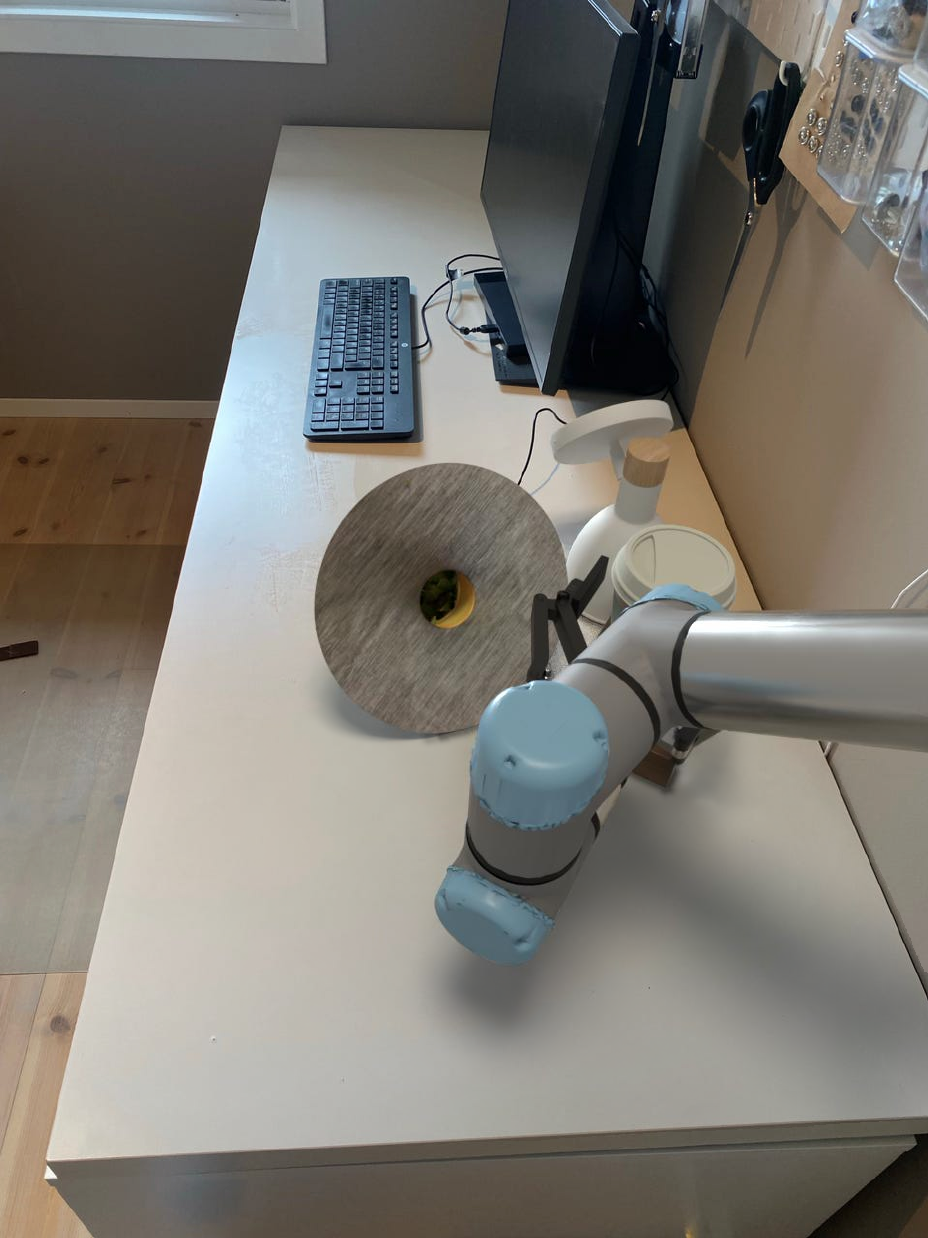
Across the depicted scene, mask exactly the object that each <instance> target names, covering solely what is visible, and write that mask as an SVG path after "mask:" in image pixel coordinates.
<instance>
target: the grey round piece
mask: <svg viewBox="0 0 928 1238" xmlns="http://www.w3.org/2000/svg"><path fill="white" fill-rule="evenodd" d="M566 562H567V560H566V555H565V551H564V548H563V545H562V541H561V539H560V536H559V534H558V531H557V529H556V528H555V525H554V524H553V522H552V520H551V518H550V517H549V516H548V513H546V511H545V509H543V507H542V506H541V505H540V503H538V501H536V499H535V498H534V497H533V496H532V495H531V494H530V493H529V492H528V491H527V490H525V488H523V487H522V486H520V485H519V484H518V483H516V482H515V481H513V480H512V479H510V478H509V477H507V476H505V475H502V474H501V473H498V472H497V471H494V470H492V469H489V468H486V467H482V466H478V465H474V464H468V463H461V462H438V463H431V464H425V465H421V466H416V467H413V468H410V469H408V470H405V471H403V472H400V473H398V474H396V475H393V476H392V477H390V478H388V479H385V481H383V482H381V483H380V484H378V485H377V486H375V487H374V488H373V489H371V490H370V491H369V492H367V493H366V494H365V495H364V496H363V497H362V498H361V499H359V501H358V502H356V504H355V505H353V507H352V508H351V509H350V510H349V511H348V512H347V514H346V515H345V516H344V518H343V519H342V521H341V522H340V523H339V525H338V527H337V528H336V530H335V531H334V533H333V535H332V537H331V538H330V541H329V542H328V544H327V546H326V549H325V552H324V555H323V557H322V560H321V564H320V566H319V569H318V574H317V578H316V582H315V591H314V605H313V606H314V607H313V609H314V612H313V613H314V625H315V633H316V637H317V640H318V645H319V649H320V651H321V654H322V656H323V658H324V661H325V663H326V666H327V667H328V669H329V672H330V673H331V675H332V677H333V678H334V680H335V682H336V683H337V684H338V686H339V687H340V688H341V690H342V691H343V693H345V694H346V695H347V696H348V697H349V699H351V701H352V702H353V703H354V704H355V705H357V706H358V707H359V708H360V709H361V710H363V711H364V712H366V713H367V714H368V715H370V716H372V717H374V718H375V719H377V720H378V721H380V722H383V723H384V724H387V725H389V726H391V727H395V728H398V729H401V730H405V731H408V732H414V733H415V732H416V733H421V734H442V733H450V732H457V731H461V730H467V729H470V728H472V727H476V726H479V723H480V720H481V717H482V715H483V713H484V711H485V709H486V708H487V706H488V705H489V703H490V702H491V701H492V700H493V699H494V698H495V697H496V696H497V695H498V694H500V693H501V692H502V691H504V690H506V689H507V688H510V687H517V686H521V685H525V683H526V677H527V671H528V669H529V667H530V665H531V612H532V605H533V598H534V595H535V594H538V593H542V594H544V595H546V596H547V598H548V599H556V596H557V592H558V591H560V590H565V589H566V587H567V586H568V576H567V569H566ZM548 631H549V661H548V664H549V663H550V661H551V660H552V659H553V656H554V653H555V651H556V648H557V647H558V644H559V643H560V640H559V638H558V635H557V632H556V629H555V627H554V624H553V621H551V620H548Z"/></svg>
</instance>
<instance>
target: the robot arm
mask: <svg viewBox="0 0 928 1238" xmlns="http://www.w3.org/2000/svg"><path fill="white" fill-rule="evenodd" d="M608 561H609V557H606V556H604V555H601V556H600V558H599V559H598V561H597V562H596V564H595V565H594V567H593V568H592V569H591V571H590V572H589V574H588V575H587V577H586V578H585V580H584V581H582V580H579V579H577V578H575V579H573V580H571V582H570V583H569V585H568V586H567V587H566V589H565V590H560V591H558V592H557V596H556V599H548V598H547V596H546V595H544V594H542V593H538V594H535V595H534V598H533V605H532V612H531V665H530V667H529V669H528V671H527V677H526V683H525V685H521V686H517V687H510V688H507V689H506V690H504V691H502V692H501V693H500V694H498V695H497V696H496V697H495V698H494V699H493V700H492V701H491V702H490V703H489V705H488V706H487V708H486V709H485V711H484V713H483V715H482V717H481V720H480V723H479V724H478V728H477V732H476V736H475V743H474V745H473V746H472V748H471V757H470V760H469V777H470V778H469V790H468V791H469V792H468V793H469V794H468V808H467V818H466V822H465V827H464V838H463V846H462V847H461V850H460V852H459V854H458V856H457V857H456V859H455V860H454V862H453V863H452V864H449V865H448V867H447V868H446V874H445V877H444V878H443V880H442V882H441V884H440V886H439V888H438V889H437V892H436V894H435V897H434V910H435V913H436V916H437V918H438V921H439V922H440V924H441V925H442V926H443V928H444V929H445V931H446V932H447V933H448V934H449V935H450V936H451V937H452V938H453V939H454V940H456V942H458V943H459V944H460V945H461V946H463V947H464V948H466V949H467V950H469V951H470V952H472V953H474V954H476V955H478V956H479V957H481V958H483V959H484V960H485V959H486V960H487V961H490V962H492V963H495V964H500V965H504V966H505V965H506V966H519V965H522V964H523V965H524V964H526V963H528V962H530V961H531V960H532V959H533V958H534V957H535V955H536V954H537V952H538V951H539V949H540V948H541V946H542V944H543V942H544V940H545V939H546V937H547V936H548V934H549V932H550V931H552V930H554V927H555V925H556V923H555V921H556V919H557V917H558V915H559V912H560V910H561V909H562V906H563V904H564V903H565V901H566V899H567V897H568V895H569V893H570V890H571V889H572V887H573V885H574V883H575V881H576V879H577V877H578V875H579V873H580V871H581V868H582V867H583V864H584V863H585V861H586V858H587V856H588V854H589V852H590V850H591V848H592V846H593V845H594V844H595V842H596V840H597V838H598V836H599V834H600V832H601V830H602V828H603V826H604V824H605V823H606V821H607V819H608V817H609V815H610V813H611V811H612V810H613V807H614V806H615V804H616V802H617V800H618V798H619V796H620V794H621V790H622V789H623V788H624V786H625V785H626V783H627V781H628V779H629V777H630V775H631V773H632V770H633V769H634V768H635V767H636V766H637V765H638V764H639V763H640V761H641V760H642V759H643V758H644V757H645V756H646V755H647V754H648V753H649V752H650V751H651V750H652V748H653V747H654V746H655V745H657V746H658V747H660V748H662V749H664V750H666V751H667V752H669V753H670V755H669V760H670V761H671V762H672V763H673V764H676V766H679V765H680V766H681V765H683V764H684V763H685V761H686V759H688V757H689V756H690V753H691V752H692V751H693V749H695V748H697V747H698V746H700V744H703V743H704V742H706V741H708V740H709V739H710V738H712V737H715V735H717V734H719V733H720V732H723V731H726V732H735V733H743V734H753V735H762V736H770V737H779V738H789V739H797V740H798V739H799V740H807V741H817V742H826V743H835V744H842V745H843V744H844V745H852V746H861V747H862V746H863V747H871V748H881V749H888V750H889V749H890V750H897V751H898V750H899V751H907V752H917V753H926V754H928V607H911V608H910V607H904V608H901V607H900V608H896V607H895V608H843V609H842V608H840V609H839V608H835V609H834V608H833V609H832V608H831V609H830V608H829V609H824V608H823V609H767V610H766V609H764V610H762V609H761V610H757V609H756V610H753V609H752V610H729V611H725V609H724V608H723V607H722V606H721V605H720V604H719V603H718V602H717V601H716V600H715V599H714V598H713V597H711V596H710V595H708V594H707V593H705V592H698V591H696V590H694V589H691V588H690V586H688V585H683V584H668V585H663V586H660V587H658V588H655V589H654V590H652V591H651V592H649V593H648V594H647V595H646V596H644V597H643V598H642V599H641V600H639V601H637V602H635V603H634V604H633V605H631V606H630V607H628V608H626V609H624V611H623V612H622V613H621V614H620V615H619V616H618V617H617V618H616V620H615V621H614V623H613V624H612V625H611V626H610V627H608V628H607V629H606V630H605V631H604V632H603V633H602V634H601V635H600V636H599V637H598V638H597V639H596V638H595V639H596V640H595V639H594V640H595V641H594V640H593V641H592V643H590V644H589V646H588V644H587V641H586V639H585V637H584V634H583V631H582V629H581V627H580V624H579V621H578V620H579V619H580V618H581V616H582V613H583V611H584V610H585V608H586V607H587V605H588V604H589V602H590V601H591V599H592V598H593V596H594V595H595V593H596V591H597V590H598V588H599V587H600V585H601V584H602V582H603V581H604V579H605V575H606V570H607V566H608ZM548 620H551V621H553V624H554V627H555V629H556V632H557V635H558V638H559V643H560V646H561V649H562V651H563V654H564V657H565V660H566V662H567V664H568V665H567V666H566V667H564V668H563V669H562V670H561V671H560V672H559V673H558V674H557V675H555V672H554V671H553V668H552V667H551V666H549V663H548V661H549V631H548ZM549 662H550V661H549Z"/></svg>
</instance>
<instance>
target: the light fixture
mask: <svg viewBox="0 0 928 1238" xmlns="http://www.w3.org/2000/svg"><path fill="white" fill-rule="evenodd" d="M673 427H674V420H673V416H672V413H671V409H670V406H669V404H668V403H667V402H665V401H663V400H658V399H639V400H632V401H626V402H621V403H616V404H613V405H609V406H606V407H603V408H600V409H596V410H593V411H591V412H587V413H586V414H583V415H581V416H579V417H577V418H574V419H573V420H571V421H568V422H567V423H565V424H564V425H562V426H561V427H559V428H558V429H557V430H555V432H553V434H551V436H550V438H549V444H550V448H551V452H552V456H553V459H554V462H557V463H558V464H562V465H568V466H569V465H571V466H573V465H586V464H593V463H599V462H603V461H607V460H611V464H612V467H613V471H614V475H615V478H616V481H617V482H618V481H620V482H619V486H618V491H617V495H616V500H615V502H614V503H612V504H610V505H607V506H606V507H604V508H603V509H602V510H600V511H599V512H598V513H596V514H595V515H594V516H592V518H591V519H589V521H588V522H587V523H586V524H585V525H584V526H583V527H582V529H581V530H580V532H579V533H578V535H577V537H576V539H575V540H574V542H573V544H572V545H571V548H570V550H569V553H568V556H567V559H566V569H567V576H568V585H569V583H570V582H571V580H573V579H575V578H577V579H579V580H582V581H584V580H585V578H586V577H587V575H588V574H589V572H590V571H591V569H592V568H593V567H594V565H595V564H596V562H597V561H598V559H599V558H600V556H601V555H604V556H606V557H609V561H608V566H607V570H606V575H605V579H604V581H603V582H602V584H601V585H600V587H599V588H598V590H597V591H596V593H595V595H594V596H593V598H592V599H591V601H590V602H589V604H588V605H587V607H586V608H585V610H584V611H583V613H582V614H581V616H583V617H585V618H587V619H589V620H590V621H593V622H595V623H598V624H601V625H604V624H605V623H606V621H607V619H608V618H609V616H610V615H611V613H612V606H613V595H614V585H613V582H612V577H611V570H612V565H613V563H614V560H615V559H616V557H617V554H618V553H619V551H620V550H621V549H622V548H623V547H624V546H625V545H626V544H627V542H628V541H629V539H630V538H631V537H632V536H633V535H634V534H636V533H637V532H639V531H641V530H643V529H645V528H648V527H652V526H657V525H666V524H665V522H664V521H663V519H662V517H661V516H660V515H659V514H658V513H657V511H656V510H657V506H658V502H659V498H660V495H661V492H662V491H661V490H662V487H663V483H664V480H665V478H666V477H665V476H666V472H667V469H668V465H669V461H670V458H671V448H670V447H669V445H668V444H667V443H666V442H664V441H662V440H661V439H662V438H664V437H665V436H667V434H669V432H671V430H672V429H673Z"/></svg>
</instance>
